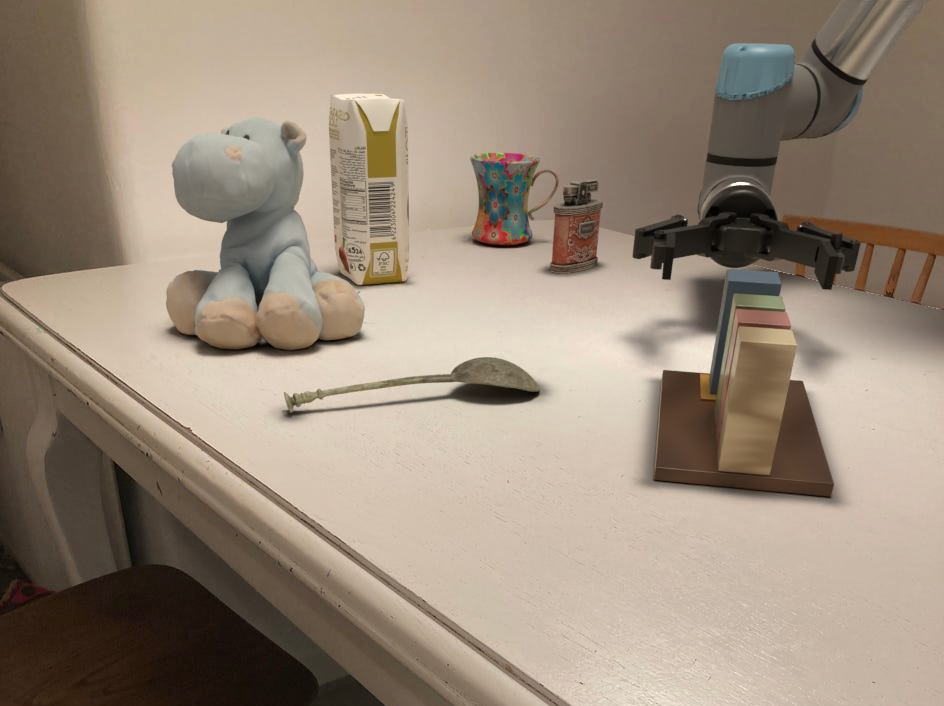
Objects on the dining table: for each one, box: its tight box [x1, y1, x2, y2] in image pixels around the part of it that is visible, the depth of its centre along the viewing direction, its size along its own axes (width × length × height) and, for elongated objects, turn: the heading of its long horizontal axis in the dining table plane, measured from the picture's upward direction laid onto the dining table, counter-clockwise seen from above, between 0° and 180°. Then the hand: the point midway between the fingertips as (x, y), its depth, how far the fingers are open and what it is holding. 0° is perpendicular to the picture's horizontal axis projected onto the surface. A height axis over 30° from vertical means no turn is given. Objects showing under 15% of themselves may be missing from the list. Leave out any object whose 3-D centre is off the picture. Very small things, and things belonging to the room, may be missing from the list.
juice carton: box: [328, 93, 410, 286], centre depth 110 cm, size 8×9×19 cm
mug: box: [469, 152, 560, 246], centre depth 131 cm, size 12×9×11 cm
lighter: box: [549, 178, 604, 274], centre depth 119 cm, size 8×3×10 cm, turn 137°
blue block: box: [709, 268, 783, 394], centre depth 78 cm, size 4×4×9 cm
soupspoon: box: [283, 356, 541, 414], centre depth 80 cm, size 22×3×7 cm
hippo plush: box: [165, 116, 366, 351], centre depth 92 cm, size 18×23×18 cm
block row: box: [653, 294, 835, 498], centre depth 73 cm, size 12×22×10 cm, turn 169°
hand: (748, 268), depth 82 cm, fingers open, 13 cm apart
